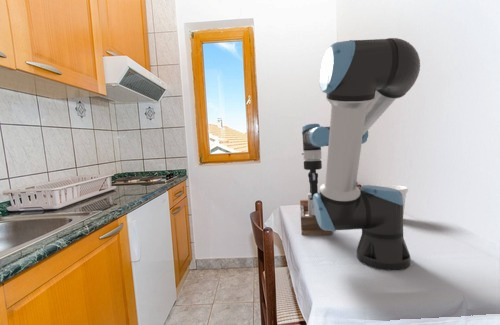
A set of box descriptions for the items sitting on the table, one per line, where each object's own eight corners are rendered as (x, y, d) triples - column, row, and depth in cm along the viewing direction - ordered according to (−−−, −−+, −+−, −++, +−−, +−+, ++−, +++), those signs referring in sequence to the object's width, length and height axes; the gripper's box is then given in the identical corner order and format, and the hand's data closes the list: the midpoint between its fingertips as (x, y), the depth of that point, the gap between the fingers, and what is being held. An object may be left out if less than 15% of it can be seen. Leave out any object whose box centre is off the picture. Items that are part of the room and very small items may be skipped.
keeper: (325, 227, 108) (323, 195, 107) (305, 227, 110) (304, 195, 109) (323, 223, 114) (322, 192, 113) (305, 223, 115) (304, 192, 114)
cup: (414, 223, 112) (413, 188, 111) (385, 224, 113) (385, 190, 112) (398, 215, 125) (398, 184, 124) (372, 216, 125) (372, 185, 124)
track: (331, 235, 104) (330, 218, 103) (301, 234, 106) (300, 218, 106) (322, 211, 139) (322, 198, 139) (300, 211, 141) (300, 199, 141)
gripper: (303, 158, 121) (305, 205, 122) (304, 162, 100) (306, 218, 102) (319, 158, 119) (321, 205, 121) (323, 161, 99) (325, 218, 100)
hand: (314, 211), depth 111 cm, fingers open, 8 cm apart
